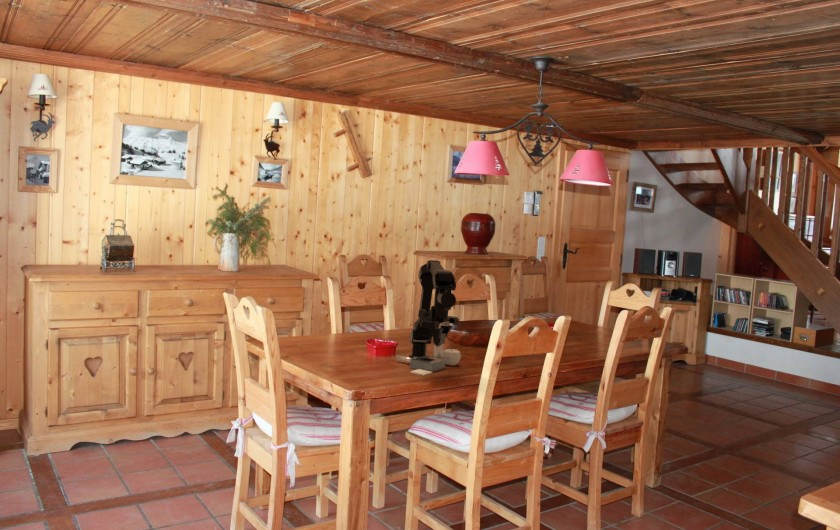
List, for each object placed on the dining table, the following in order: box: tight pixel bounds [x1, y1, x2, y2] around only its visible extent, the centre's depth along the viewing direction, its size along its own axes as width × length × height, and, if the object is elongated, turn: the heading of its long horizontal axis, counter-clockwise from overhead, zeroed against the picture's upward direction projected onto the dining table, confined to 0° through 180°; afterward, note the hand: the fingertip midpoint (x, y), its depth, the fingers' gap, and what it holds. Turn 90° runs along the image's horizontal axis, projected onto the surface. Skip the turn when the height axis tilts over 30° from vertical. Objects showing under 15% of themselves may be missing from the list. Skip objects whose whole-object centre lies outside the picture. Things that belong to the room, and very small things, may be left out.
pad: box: [410, 369, 433, 376], centre depth 277 cm, size 6×6×1 cm
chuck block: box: [395, 354, 446, 373], centre depth 288 cm, size 10×20×4 cm, turn 57°
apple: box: [441, 348, 462, 367], centre depth 295 cm, size 8×8×7 cm
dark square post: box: [432, 333, 446, 359], centre depth 272 cm, size 3×3×10 cm
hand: (438, 344), depth 272 cm, fingers closed on dark square post, 3 cm apart
